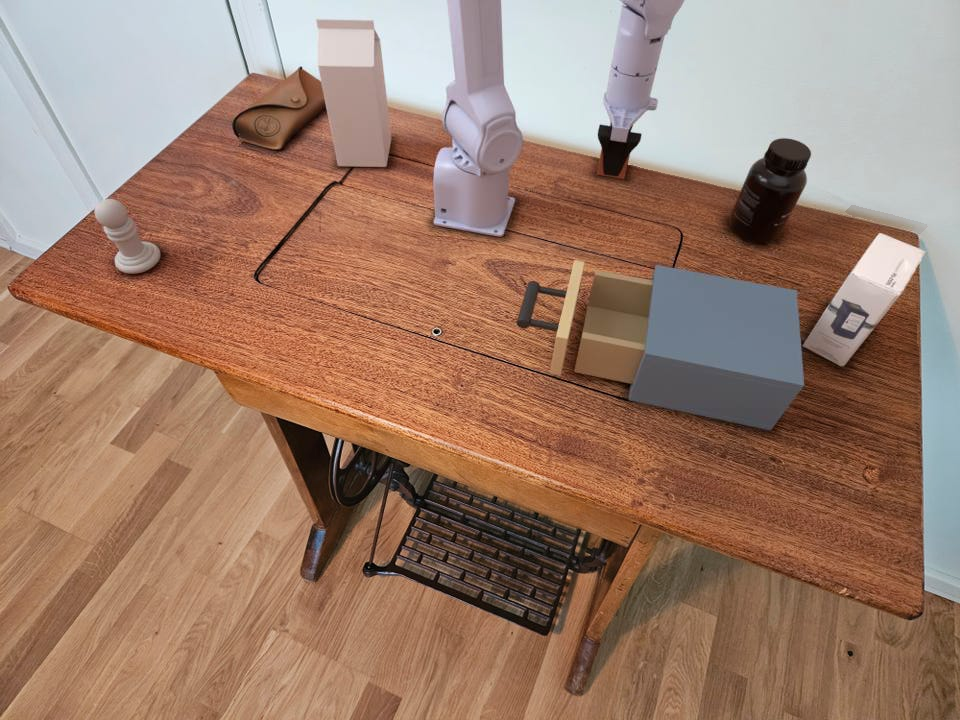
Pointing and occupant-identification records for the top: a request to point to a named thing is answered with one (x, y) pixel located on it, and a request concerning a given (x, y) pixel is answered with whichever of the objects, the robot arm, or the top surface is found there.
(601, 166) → the block
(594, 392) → the top surface
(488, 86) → the robot arm
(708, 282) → the cabinet
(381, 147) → the milk carton
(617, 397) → the top surface
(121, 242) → the chess piece
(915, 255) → the ink box
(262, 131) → the sunglasses case
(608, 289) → the drawer
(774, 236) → the supplement bottle
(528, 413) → the top surface
